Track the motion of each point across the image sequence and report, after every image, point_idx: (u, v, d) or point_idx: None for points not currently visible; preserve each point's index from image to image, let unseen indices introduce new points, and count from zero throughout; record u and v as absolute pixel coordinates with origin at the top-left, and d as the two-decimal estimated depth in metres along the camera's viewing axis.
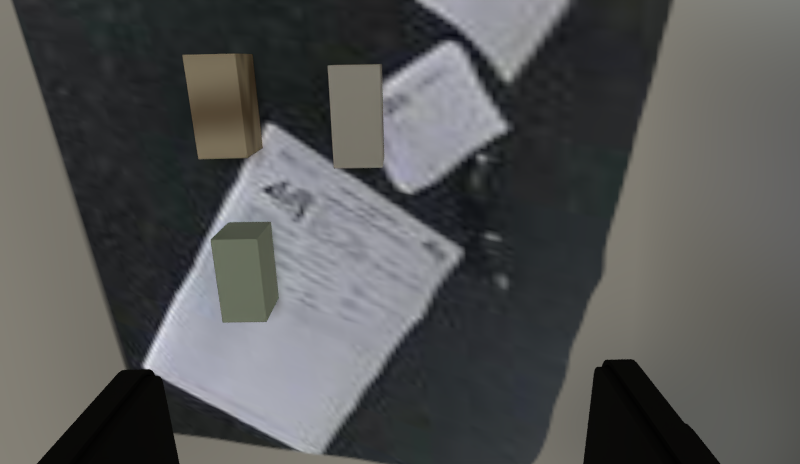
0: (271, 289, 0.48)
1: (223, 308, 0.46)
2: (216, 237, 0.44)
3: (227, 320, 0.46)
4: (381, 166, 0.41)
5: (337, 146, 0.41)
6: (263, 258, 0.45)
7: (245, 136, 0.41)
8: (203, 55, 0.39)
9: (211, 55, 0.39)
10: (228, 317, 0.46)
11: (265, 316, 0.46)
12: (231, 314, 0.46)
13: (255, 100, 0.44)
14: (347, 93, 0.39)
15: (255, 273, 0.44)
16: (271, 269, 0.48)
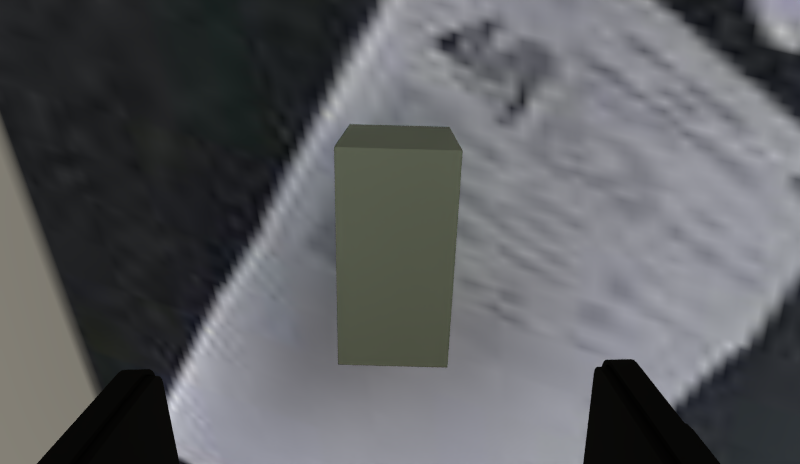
0: None
1: (344, 331, 0.18)
2: (345, 143, 0.16)
3: (350, 360, 0.18)
4: None
5: None
6: None
7: None
8: None
9: None
10: (353, 353, 0.18)
11: (446, 354, 0.18)
12: (362, 346, 0.18)
13: None
14: None
15: (440, 246, 0.17)
16: None
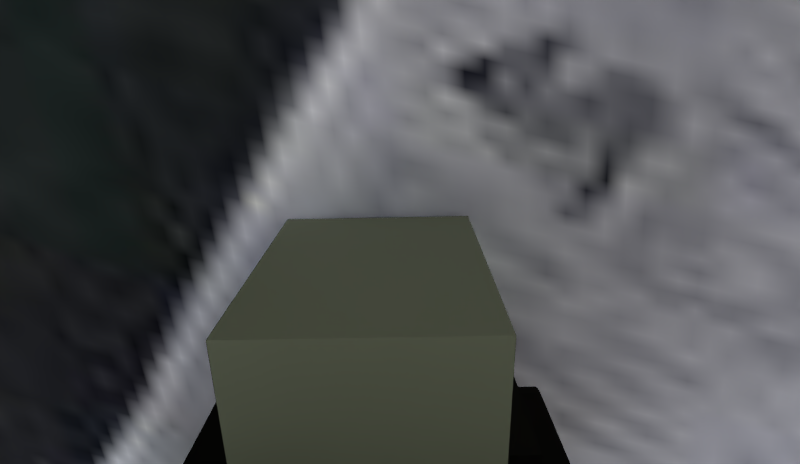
0: None
1: None
2: (242, 317, 0.07)
3: None
4: None
5: None
6: None
7: None
8: None
9: None
10: None
11: None
12: None
13: None
14: None
15: None
16: None
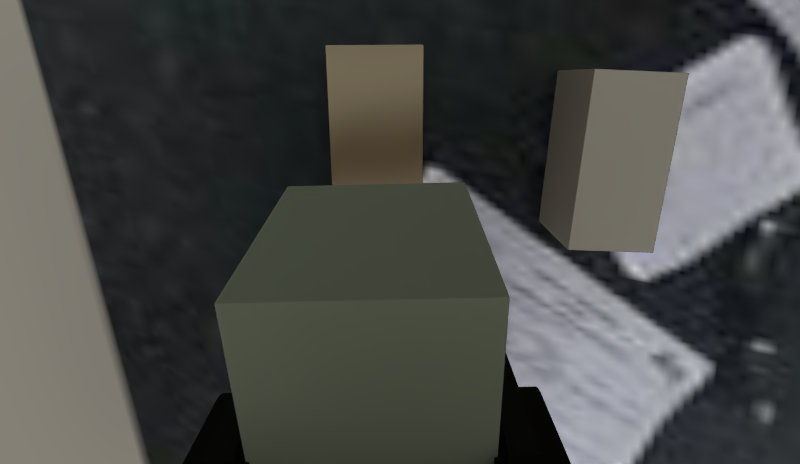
0: None
1: None
2: (247, 281, 0.07)
3: None
4: (651, 250, 0.24)
5: (582, 212, 0.23)
6: None
7: None
8: (364, 46, 0.21)
9: (379, 47, 0.21)
10: None
11: None
12: None
13: None
14: (619, 120, 0.22)
15: None
16: None
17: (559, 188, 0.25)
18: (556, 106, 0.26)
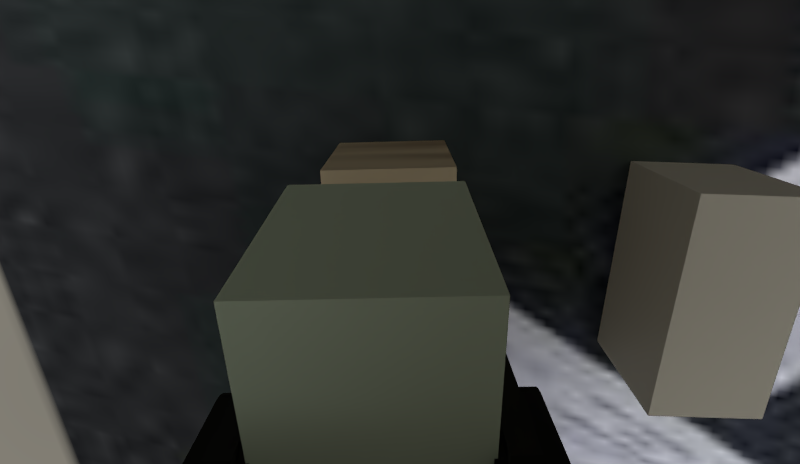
0: None
1: None
2: (247, 279, 0.07)
3: None
4: (759, 416, 0.18)
5: (669, 371, 0.17)
6: None
7: None
8: (374, 171, 0.15)
9: (395, 171, 0.15)
10: None
11: None
12: None
13: None
14: (730, 260, 0.16)
15: None
16: None
17: (632, 322, 0.19)
18: (628, 208, 0.20)
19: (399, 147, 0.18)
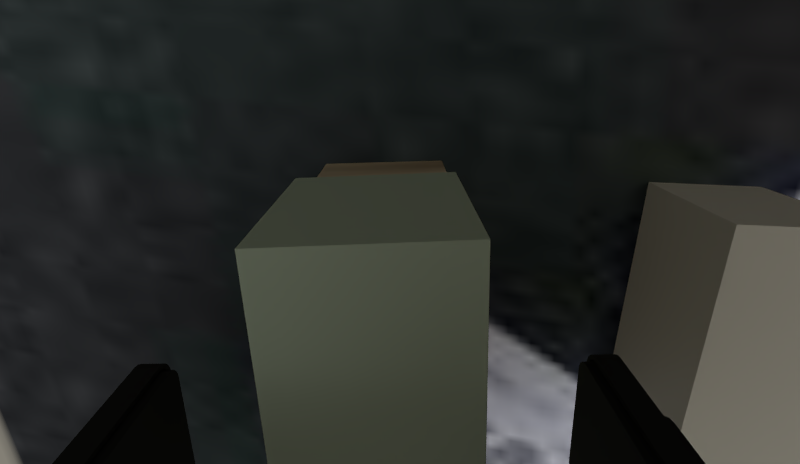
0: None
1: None
2: (262, 235, 0.08)
3: None
4: None
5: (695, 421, 0.15)
6: None
7: None
8: None
9: None
10: None
11: None
12: None
13: None
14: (767, 298, 0.14)
15: (458, 412, 0.09)
16: None
17: (651, 361, 0.17)
18: (645, 234, 0.18)
19: (392, 170, 0.16)
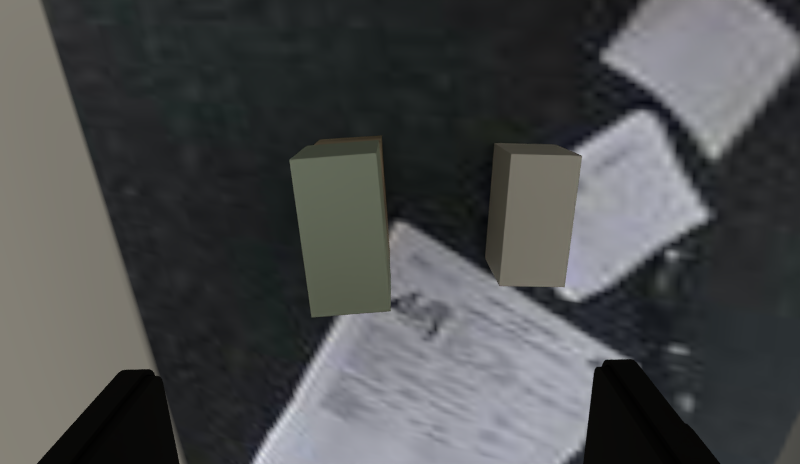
0: None
1: (313, 291, 0.25)
2: (298, 157, 0.24)
3: (320, 313, 0.25)
4: (563, 285, 0.31)
5: (508, 258, 0.30)
6: None
7: None
8: None
9: None
10: (321, 307, 0.25)
11: (388, 301, 0.25)
12: (327, 301, 0.25)
13: (385, 194, 0.33)
14: (531, 190, 0.29)
15: (371, 221, 0.24)
16: None
17: (495, 237, 0.32)
18: (493, 171, 0.33)
19: (353, 139, 0.31)
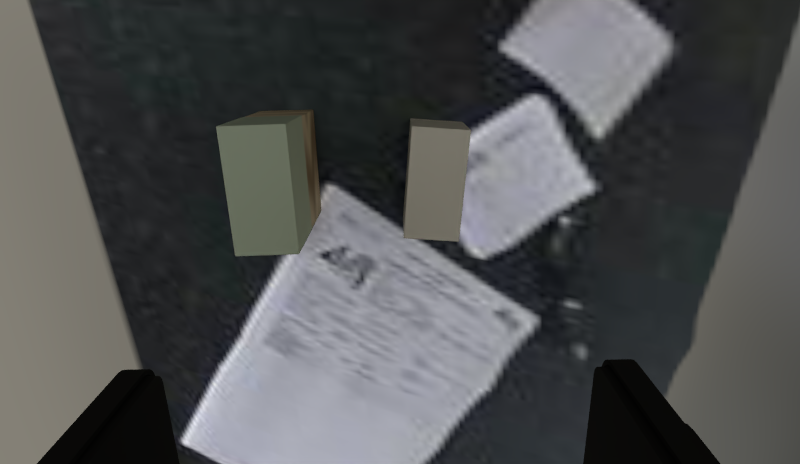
0: (304, 212, 0.34)
1: (236, 234, 0.31)
2: (224, 124, 0.30)
3: (242, 252, 0.32)
4: (457, 240, 0.37)
5: (410, 214, 0.36)
6: (293, 160, 0.31)
7: None
8: None
9: None
10: (243, 248, 0.31)
11: (297, 246, 0.31)
12: (247, 243, 0.31)
13: (315, 160, 0.39)
14: (429, 158, 0.35)
15: (282, 179, 0.30)
16: (303, 183, 0.34)
17: (405, 198, 0.38)
18: None
19: (287, 111, 0.37)
